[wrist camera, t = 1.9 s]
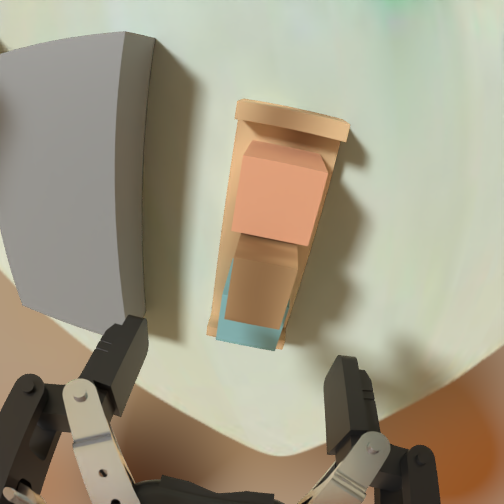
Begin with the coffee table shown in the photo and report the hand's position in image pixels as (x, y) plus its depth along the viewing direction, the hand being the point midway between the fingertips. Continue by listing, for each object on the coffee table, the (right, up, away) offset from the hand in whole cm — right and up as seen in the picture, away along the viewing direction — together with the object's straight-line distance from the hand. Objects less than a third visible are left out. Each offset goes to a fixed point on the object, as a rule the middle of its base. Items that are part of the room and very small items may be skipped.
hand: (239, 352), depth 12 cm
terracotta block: (+2, +8, +6) cm, 11 cm away
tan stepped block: (+2, +6, +10) cm, 11 cm away
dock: (-13, +9, +9) cm, 18 cm away
